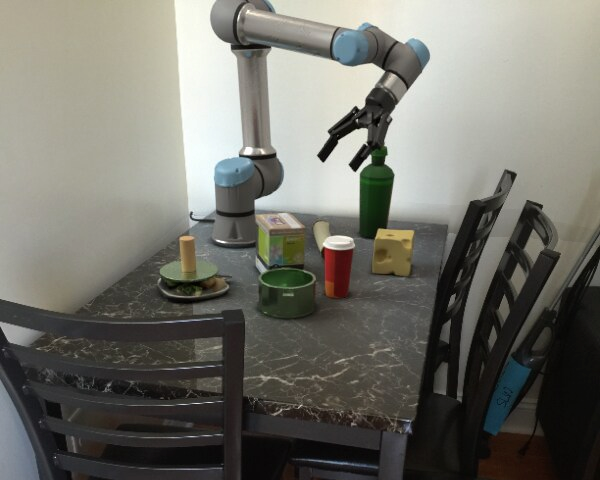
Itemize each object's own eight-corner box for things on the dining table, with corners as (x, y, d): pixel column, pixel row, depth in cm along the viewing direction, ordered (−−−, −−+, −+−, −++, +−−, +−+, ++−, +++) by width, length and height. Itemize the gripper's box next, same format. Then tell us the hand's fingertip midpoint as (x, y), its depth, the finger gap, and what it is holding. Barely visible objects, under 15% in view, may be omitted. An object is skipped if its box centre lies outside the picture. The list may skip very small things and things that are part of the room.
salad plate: (222, 272, 176) (221, 255, 173) (245, 295, 162) (245, 277, 160) (151, 281, 169) (149, 264, 166) (169, 306, 155) (168, 288, 152)
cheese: (409, 277, 175) (413, 241, 170) (369, 273, 177) (372, 237, 172) (411, 264, 184) (415, 229, 179) (373, 261, 186) (376, 226, 180)
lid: (156, 284, 156) (152, 247, 151) (164, 264, 168) (161, 229, 163) (216, 284, 156) (214, 247, 152) (220, 264, 169) (218, 229, 164)
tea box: (305, 282, 170) (306, 226, 163) (268, 285, 168) (267, 229, 160) (289, 263, 183) (290, 210, 175) (254, 266, 180) (253, 213, 172)
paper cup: (355, 291, 166) (358, 237, 159) (347, 301, 160) (350, 246, 152) (326, 286, 168) (328, 233, 161) (317, 297, 162) (318, 242, 154)
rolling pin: (310, 232, 209) (311, 216, 206) (328, 232, 209) (328, 216, 207) (320, 266, 181) (321, 248, 179) (340, 266, 182) (341, 248, 179)
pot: (258, 323, 148) (258, 292, 144) (259, 292, 164) (258, 264, 160) (317, 323, 148) (318, 292, 144) (312, 292, 164) (313, 264, 160)
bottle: (394, 233, 209) (403, 141, 195) (380, 242, 201) (388, 146, 187) (365, 228, 214) (371, 137, 199) (349, 236, 206) (355, 142, 192)
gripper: (425, 113, 161) (373, 182, 161) (361, 102, 178) (315, 164, 179) (411, 90, 155) (358, 162, 156) (347, 81, 173) (300, 146, 173)
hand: (335, 163), depth 167 cm, fingers open, 13 cm apart
